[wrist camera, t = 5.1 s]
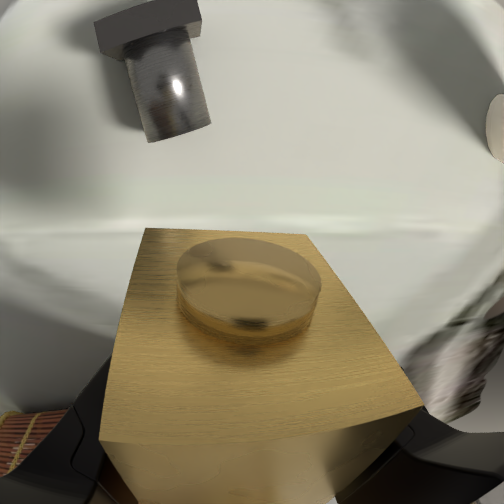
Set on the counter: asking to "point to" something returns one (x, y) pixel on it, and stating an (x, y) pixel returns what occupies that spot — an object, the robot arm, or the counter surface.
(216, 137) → the counter surface
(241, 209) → the counter surface
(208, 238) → the tan block
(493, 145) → the foam cup
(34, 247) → the counter surface
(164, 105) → the shaft
